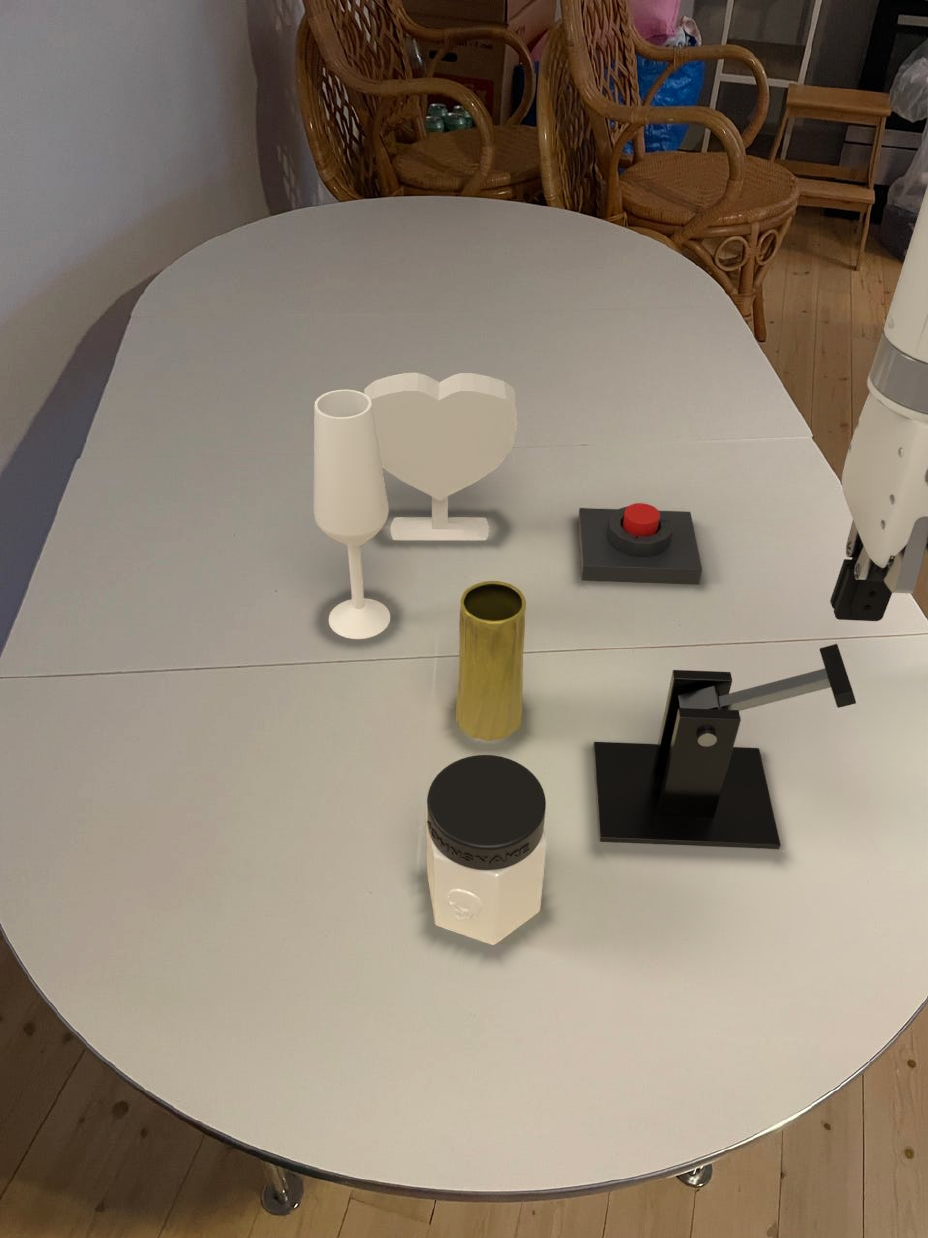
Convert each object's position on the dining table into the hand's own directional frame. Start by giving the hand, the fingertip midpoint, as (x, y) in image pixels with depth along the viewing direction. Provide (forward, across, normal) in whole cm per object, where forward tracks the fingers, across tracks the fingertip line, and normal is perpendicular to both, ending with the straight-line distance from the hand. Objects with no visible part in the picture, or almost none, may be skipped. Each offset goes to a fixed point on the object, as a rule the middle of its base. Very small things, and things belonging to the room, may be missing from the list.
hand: (855, 612), depth 71 cm
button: (+18, +33, +10) cm, 39 cm away
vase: (+22, +8, +24) cm, 34 cm away
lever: (+9, 0, +4) cm, 10 cm away
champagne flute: (+22, +21, +38) cm, 48 cm away
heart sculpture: (+22, +36, +30) cm, 52 cm away
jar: (+22, -10, +24) cm, 34 cm away
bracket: (+21, 0, +8) cm, 23 cm away
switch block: (+21, +33, +10) cm, 40 cm away
